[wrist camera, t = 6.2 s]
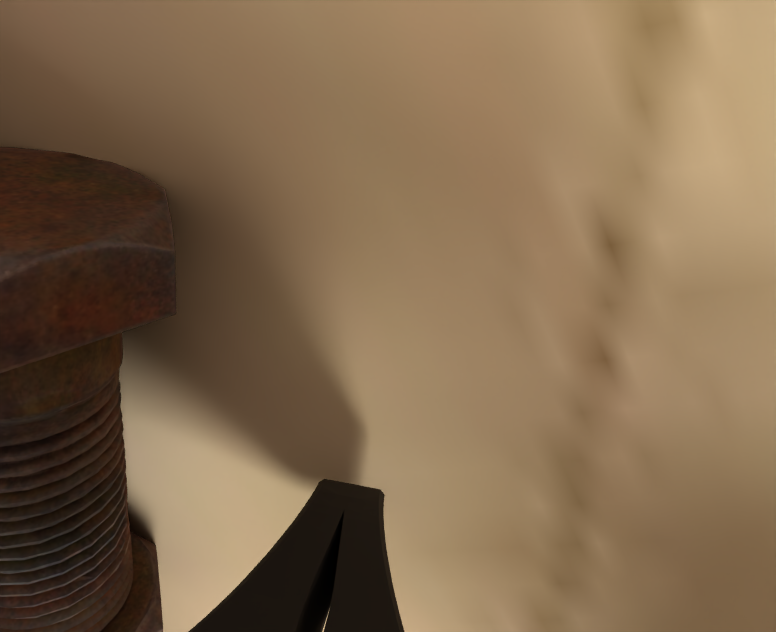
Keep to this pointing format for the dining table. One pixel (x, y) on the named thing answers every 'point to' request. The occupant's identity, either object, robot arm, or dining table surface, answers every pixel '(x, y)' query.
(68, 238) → the bolt
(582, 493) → the dining table surface
